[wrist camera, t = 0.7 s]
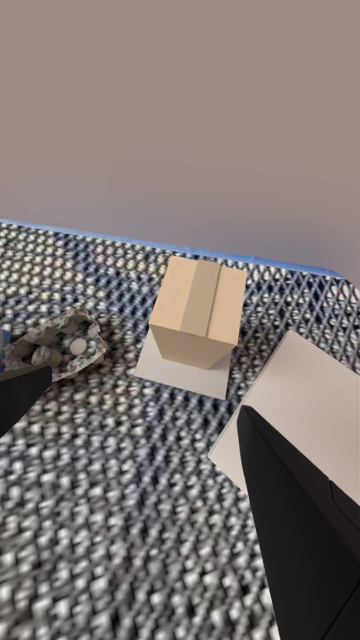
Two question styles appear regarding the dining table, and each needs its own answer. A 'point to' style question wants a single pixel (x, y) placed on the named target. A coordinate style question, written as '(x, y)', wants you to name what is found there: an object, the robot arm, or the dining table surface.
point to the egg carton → (46, 335)
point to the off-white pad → (303, 413)
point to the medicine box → (3, 338)
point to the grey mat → (183, 372)
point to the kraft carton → (198, 312)
